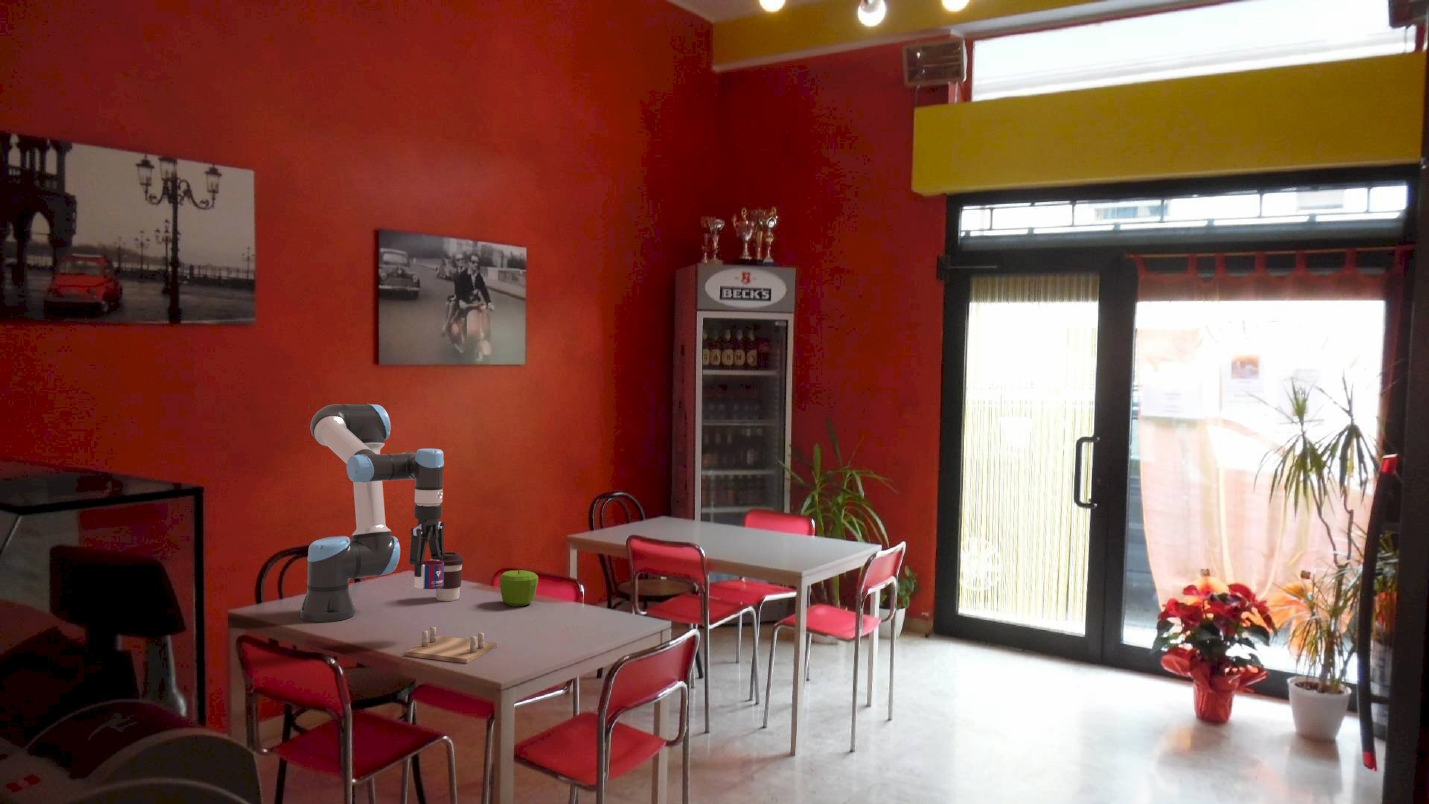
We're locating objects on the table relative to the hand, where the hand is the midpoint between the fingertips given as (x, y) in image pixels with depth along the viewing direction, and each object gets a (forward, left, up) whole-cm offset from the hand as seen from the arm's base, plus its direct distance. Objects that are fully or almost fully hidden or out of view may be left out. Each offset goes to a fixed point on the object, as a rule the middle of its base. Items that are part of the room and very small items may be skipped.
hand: (426, 585), depth 275 cm
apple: (+6, +45, -15) cm, 48 cm away
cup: (0, +1, -1) cm, 1 cm away
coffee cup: (-18, +42, -15) cm, 48 cm away
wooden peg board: (+14, -9, -15) cm, 22 cm away
